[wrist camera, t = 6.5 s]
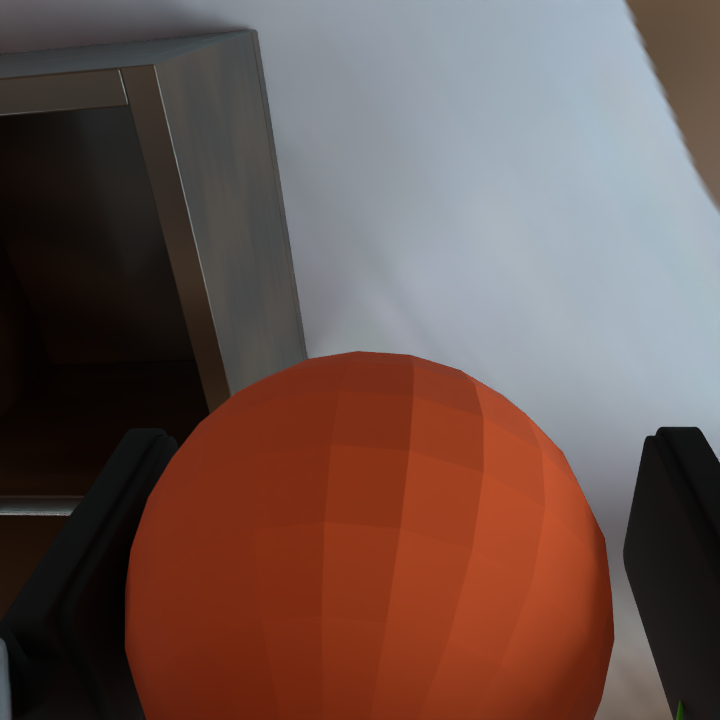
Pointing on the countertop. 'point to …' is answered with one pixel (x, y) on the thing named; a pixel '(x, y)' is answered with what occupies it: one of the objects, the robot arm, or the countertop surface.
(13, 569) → the lid
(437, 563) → the clementine
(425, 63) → the countertop surface
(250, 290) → the chest
